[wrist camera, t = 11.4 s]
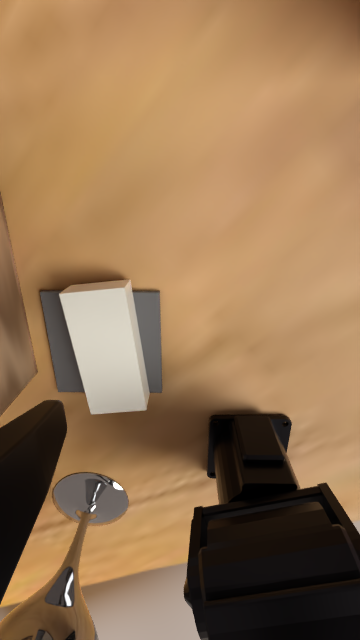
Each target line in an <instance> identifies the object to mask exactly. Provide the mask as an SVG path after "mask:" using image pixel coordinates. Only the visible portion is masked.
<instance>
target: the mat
mask: <svg viewBox="0 0 360 640" xmlns="http://www.w3.org/2000/svg"><path fill="white" fill-rule="evenodd" d="M62 291H64V290H42V291H41V292H40V295H41V301H42V306H43V312H44V317H45V323H46V328H47V334H48V339H49V344H50V350H51V355H52V361H53V366H54V372H55V377H56V383H57V388H58V392H85V390H84V386H83V382H82V379H81V375H80V371H79V367H78V364H77V360H76V356H75V352H74V349H73V345H72V341H71V337H70V334H69V330H68V326H67V322H66V319H65V315H64V311H63V307H62V304H61V300H60V296H59V293H61V292H62ZM132 292H133V298H134V304H135V310H136V316H137V322H138V328H139V334H140V340H141V346H142V351H143V357H144V363H145V369H146V375H147V381H148V387H149V393H162V363H161V324H160V291H132Z"/></svg>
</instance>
